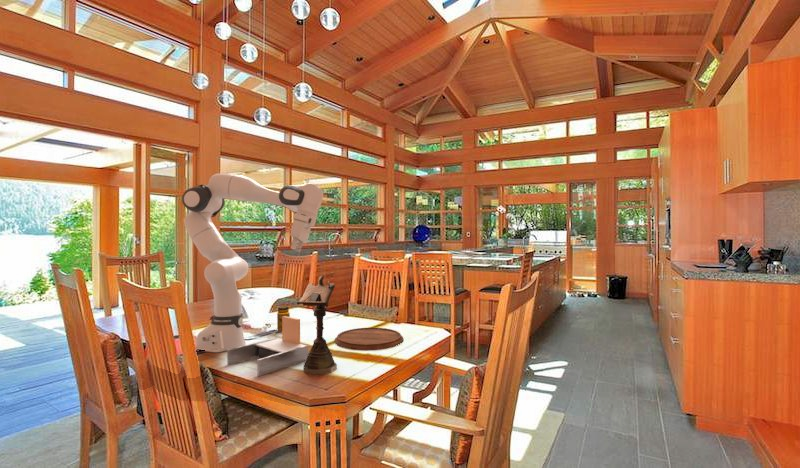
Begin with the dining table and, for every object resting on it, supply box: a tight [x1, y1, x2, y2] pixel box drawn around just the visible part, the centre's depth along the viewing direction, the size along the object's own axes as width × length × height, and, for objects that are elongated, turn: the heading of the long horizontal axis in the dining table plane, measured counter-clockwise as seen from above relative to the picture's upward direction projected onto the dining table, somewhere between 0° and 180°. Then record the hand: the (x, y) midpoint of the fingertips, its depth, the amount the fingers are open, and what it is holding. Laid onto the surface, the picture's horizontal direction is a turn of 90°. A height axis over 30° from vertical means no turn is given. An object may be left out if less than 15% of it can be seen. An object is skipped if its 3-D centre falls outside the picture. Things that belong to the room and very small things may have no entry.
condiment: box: [275, 305, 291, 333], centre depth 206 cm, size 7×8×12 cm
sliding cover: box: [256, 316, 306, 353], centre depth 161 cm, size 11×18×11 cm, turn 53°
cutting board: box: [334, 327, 404, 351], centre depth 187 cm, size 32×32×3 cm
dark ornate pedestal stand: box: [295, 274, 338, 375], centre depth 146 cm, size 17×13×35 cm
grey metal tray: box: [226, 337, 309, 377], centre depth 156 cm, size 22×21×6 cm
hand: (295, 250), depth 172 cm, fingers open, 8 cm apart
